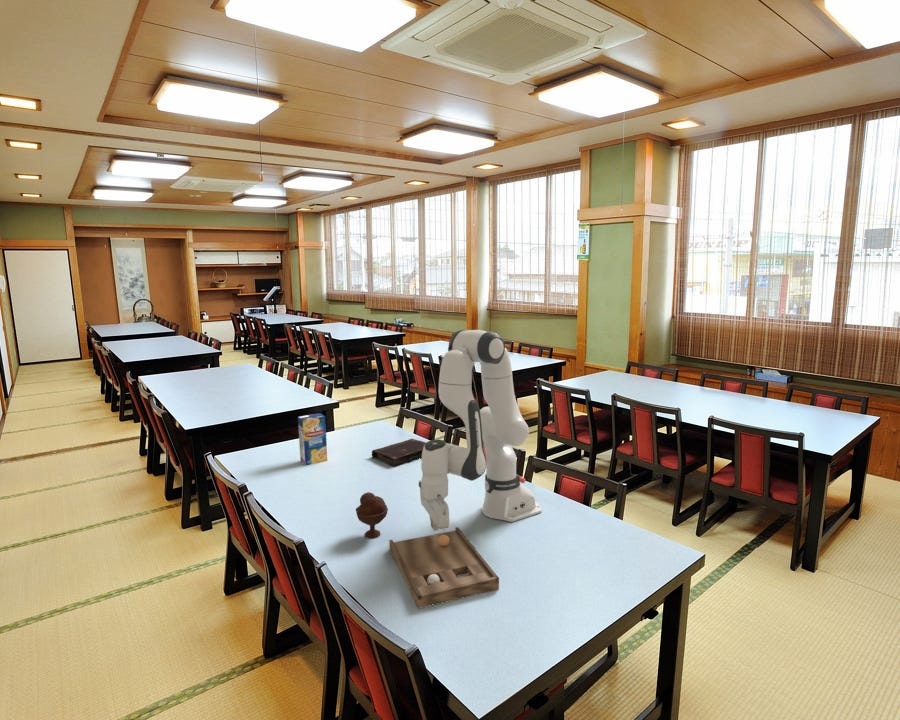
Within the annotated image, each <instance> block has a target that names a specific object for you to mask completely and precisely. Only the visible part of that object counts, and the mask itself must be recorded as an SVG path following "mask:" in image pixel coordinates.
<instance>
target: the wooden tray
mask: <svg viewBox="0 0 900 720" xmlns="http://www.w3.org/2000/svg"><path fill="white" fill-rule="evenodd" d="M441 535H447V536H448V537H449V540H450V541H449V544H448V545H447V546H441V545H440V544H439V542H438V539H439V537H440V536H441ZM388 541H389V542H388V543H389V544H388V545H389V552H390V554H391V556H392V557H393V560H394V562H395V564H396V566H397V568H398V570H399V572H400V573H401V576H402V578H403V580H404V582H405V583H406V586H407V588H408V591H409V592H410V595H411V596H412V598H413V601H414V603H415V604H416V606H417V609H422V608H421V607H423V608H426V607H425V606H427V607H430V606H429V605H431V606H433V605H432V604H435V605H438V604H437V603H439V604H442V603H441V602H443V603H446V601H448V602H451V601H450V600H452V601H456V600H460V599H463V598H462V597H464V598H467V596H468V597H472V596H475V594H477V595H479V594H480V593H481V594H485V593H488V591H489V592H493V591H496V590H499V589H500V577H499V576H498V575H497V573H495V571H494V570H493V569H492V567H491V566H490V565H489V564H488V562H487V561H486V559H485V558H484V557H483V556H482V555H481V553H479V551H478V550H477V549H476V547H475V546H474V545H473V544H472V542H471V541H470V540H469V539H468V538H467V536H466V535H465V534H464V533H463V531H462V530H461V529H460V527H458V526H456V527H454V530H450V531H446V532H440V533H435V534H430V535H425V536H420V537H413V538H409V539H403V540H398V541H393V539H389V540H388ZM431 574H436V575H437V576H438V577H439V579H440V583H435V584H431V585H428V583H427V579H428V577H429V576H430V575H431ZM466 574H467V576H463V575H466ZM458 576H463V577H458ZM471 595H472V596H471ZM459 598H460V599H459ZM455 599H456V600H455Z"/></svg>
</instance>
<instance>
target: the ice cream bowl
mask: <svg viewBox="0 0 900 720" xmlns="http://www.w3.org/2000/svg"><path fill="white" fill-rule="evenodd" d="M359 502H360V505H358V506H357V507H356V508H355V513H356V517H357V519H358V520H359V521H360V522H361V523H363V524H364V525H367V526H369V530H367V531H365V533H364V537H365V538H367V539H369V540H370V539H371V540H372V539H373V540H374V539H377V538H379V537H380V536H381V531H380V530H377V529H376V525H378V524H379V523H381V522H382V521H383V520H384V519H385V518H386V517H387V514H388V511H389V508H388V505H387V504H386V502H385V500H384V499H383V498H382V497H381V496H378V495H375V494H374V493H373V492H364V493H363V494H362V495H361V496H360V499H359Z"/></svg>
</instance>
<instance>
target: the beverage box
mask: <svg viewBox="0 0 900 720" xmlns="http://www.w3.org/2000/svg"><path fill="white" fill-rule="evenodd" d="M297 423H298V425H297V427H298V440H299V443H298V444H299V456H300V458H299V459H300V462H301V463H302V464H303V465H304V466H311V465H314V464H319V463H324V462H328V447H327V445H328V444H327V427H326V426H327V425H326V416H325V415H324V414H322V413H320V412H318V413H314V414H307V415H302V416H301V415H300V416H297Z"/></svg>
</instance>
